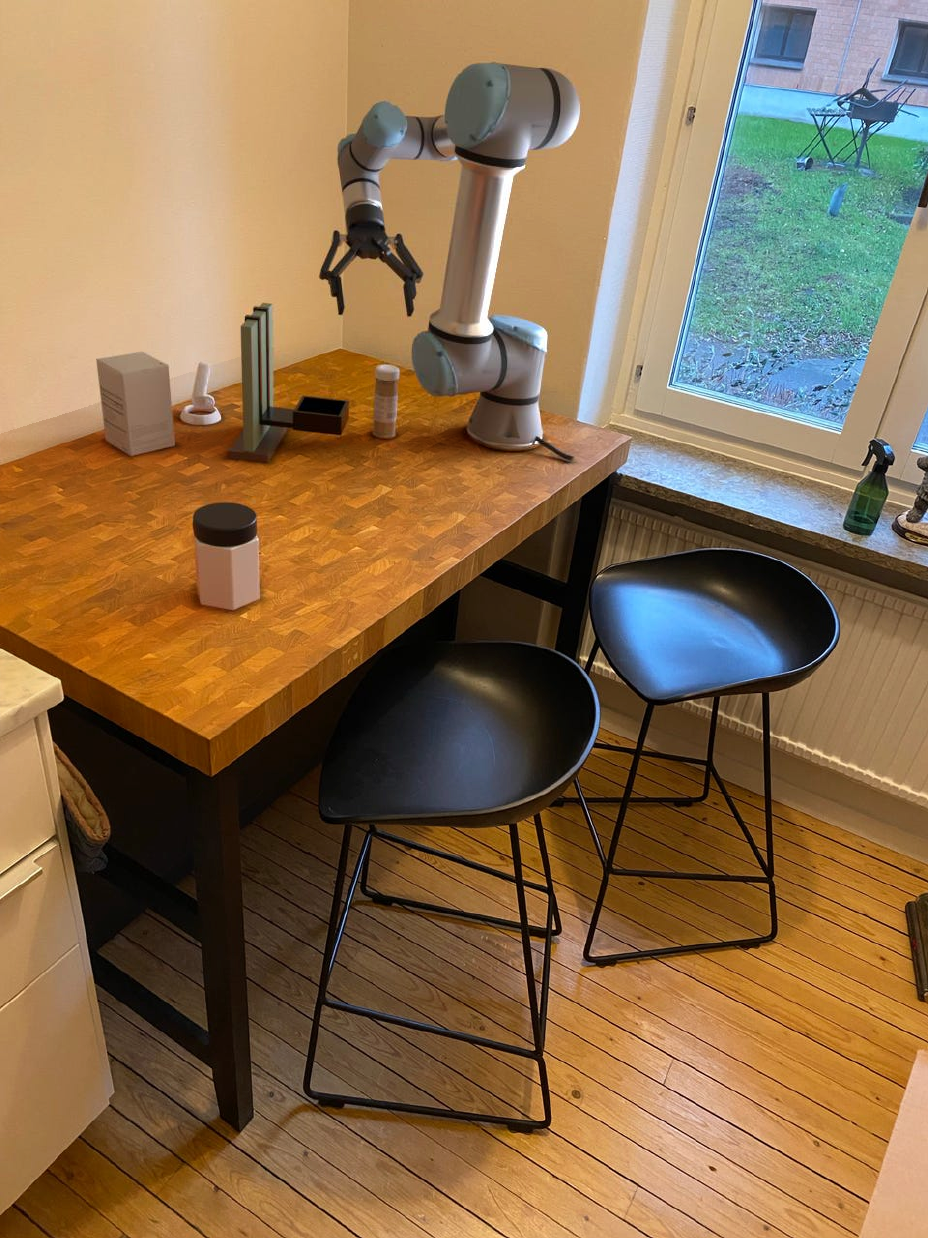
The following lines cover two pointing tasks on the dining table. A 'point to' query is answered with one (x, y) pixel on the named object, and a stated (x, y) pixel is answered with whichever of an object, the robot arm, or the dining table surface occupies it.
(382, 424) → the sprinkles bottle
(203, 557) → the jar
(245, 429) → the green slatted stand
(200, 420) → the white vr controller
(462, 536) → the dining table surface
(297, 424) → the black tray bracket
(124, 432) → the rectangular carton
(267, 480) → the dining table surface
